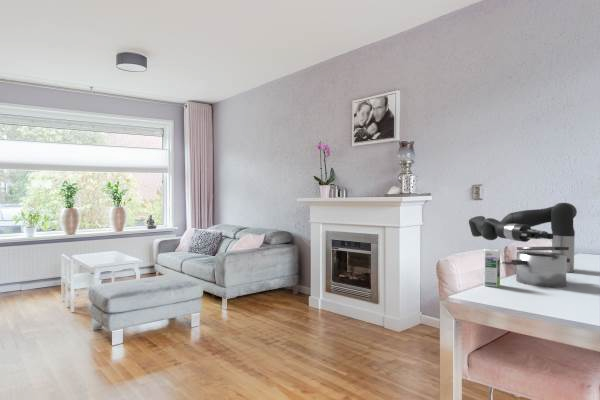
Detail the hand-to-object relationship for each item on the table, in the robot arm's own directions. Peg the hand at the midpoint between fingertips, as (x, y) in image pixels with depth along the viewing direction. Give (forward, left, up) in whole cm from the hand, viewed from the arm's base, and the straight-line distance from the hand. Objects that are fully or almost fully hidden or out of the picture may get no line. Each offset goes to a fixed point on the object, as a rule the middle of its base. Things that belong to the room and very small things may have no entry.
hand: (551, 236), depth 165 cm
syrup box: (+21, -14, -20) cm, 32 cm away
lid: (-1, -4, -6) cm, 7 cm away
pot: (-2, -5, -20) cm, 20 cm away
